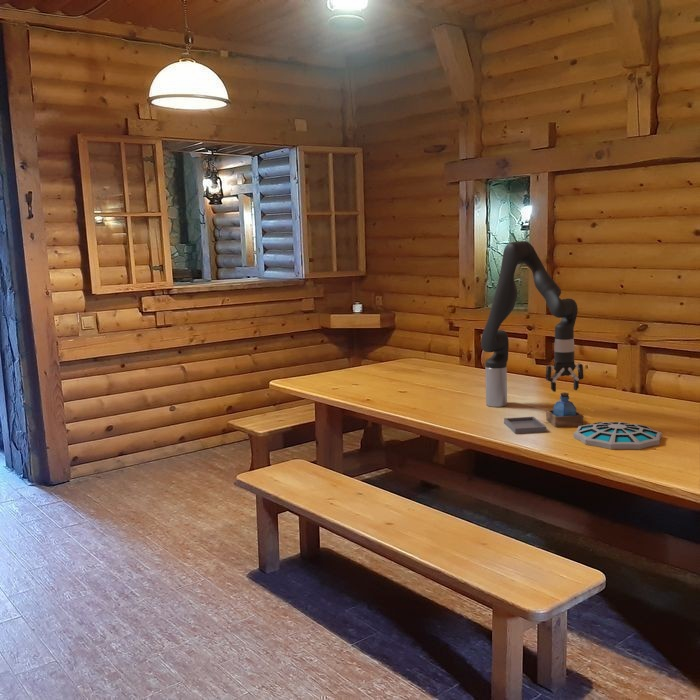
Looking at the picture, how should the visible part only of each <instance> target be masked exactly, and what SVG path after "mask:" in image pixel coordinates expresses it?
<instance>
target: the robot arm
mask: <svg viewBox="0 0 700 700" xmlns="http://www.w3.org/2000/svg"><path fill="white" fill-rule="evenodd" d="M502 253H503V254H502V259H501V266H500V271H499V276H498V282H497V284H496V285H497V286H496V289H495V291H494V295H493V299H492V304H491V308H490V312H489V315H488V318H487V321H486V324H485V326H484V329H483V332H482V335H481V339H480V346H481V347H480V348H481V349H482V351H483V352H485V353H493V354H492V356H490V357H489V358H487V359H486V360H485V361H484V364H485V365H484V366H485V367H484V369H485V406H487V407H493V408H500V407H506V406H508V375H507V373H508V370H507V369H508V367H507V365H508V360H509V347H510V346H509V343H510V342H509V341H510V340H509V336H508V333H507V332H506V331H505V330H503V329H500V327H501V325H502V324H503V322H504V321H505V320H506V319H507V318H508V317H509V316H510V314H511V313H512V312H513V310H514V308H515V305H516V302H517V297H518V288H517V285H516V281H515V273H516V269H517V266H518V265H522V264H525V266H527V267H528V268H529V269H530V271H531V273H532V277H533V282H534V286H535V288H536V289H537V291H538V292H539V293H540V295H541V296H542V297H543V299H545V303H546V306H547V308H548V310H549V312H550V314H551V315H553V316H554V318H556V319H557V318H558V319H560V318H561V320H560V322H558V323H557V324H556V325H555V326H554V344H553V345H554V347H553V348H554V350H553V351H554V354H553V355H554V364H553V365H549V364H547V365H546V366H545V369H546V370H545V380H546V381H548V382H550V390H551V391H552V392H553V393H556V392H557V382H556V381H557V380H558V378H560V377H564V376H567V377H569V376H571V377H572V378H573V391H578V389H579V383H580V381H581V380H584V365H583V364H582V363H577V364H575V361H576V360H575V349H576V347H575V340H574V335H575V333H574V332H575V331H574V327H575V325H576V320H577V316H578V309H579V308H578V304H577V302H576V300H575V299H573V298H562V299H561V298H560V296H561V294H562V290H561V288H560V286H559V285H558V284H557V283H556V282H555V280H554V279H553V278H552V277H551V275H550V274H549V273H548V271H547V270H546V269H547V268H545V266H544V264H543V262H542V261H541V259H540V257H539V255H538V254H537V252H536V249H535V248H534V247H533V245H532V244H531V243H530V242H529V241H527V240H519V241H513V242H509V243H507V244H506V245H505V246H504V249H503V252H502ZM575 369H576V370H577V374H576V373H575V372H574V371H575ZM553 370H554V373H553V375H552V372H553Z"/></svg>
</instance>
